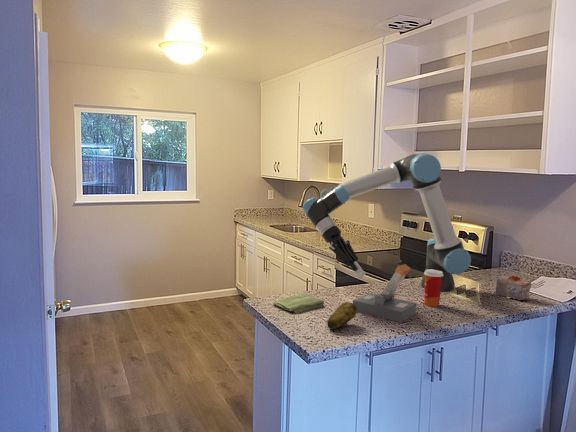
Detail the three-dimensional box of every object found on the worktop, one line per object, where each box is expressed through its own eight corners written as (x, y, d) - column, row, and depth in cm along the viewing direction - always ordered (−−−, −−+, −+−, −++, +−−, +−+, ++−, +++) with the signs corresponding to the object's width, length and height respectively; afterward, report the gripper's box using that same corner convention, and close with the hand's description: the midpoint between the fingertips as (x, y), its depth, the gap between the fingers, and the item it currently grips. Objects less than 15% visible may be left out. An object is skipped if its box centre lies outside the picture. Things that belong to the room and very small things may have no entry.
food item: (532, 300, 199) (534, 278, 198) (524, 303, 194) (526, 280, 193) (501, 292, 210) (503, 271, 209) (492, 295, 205) (494, 273, 204)
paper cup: (427, 300, 194) (429, 268, 192) (444, 305, 188) (447, 271, 187) (418, 304, 188) (420, 270, 187) (435, 308, 183) (437, 274, 181)
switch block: (352, 310, 178) (353, 291, 177) (369, 302, 189) (370, 284, 188) (400, 322, 166) (401, 302, 165) (415, 313, 177) (417, 294, 176)
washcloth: (271, 306, 181) (271, 298, 181) (304, 299, 192) (305, 291, 192) (292, 315, 171) (292, 307, 171) (326, 307, 182) (326, 299, 182)
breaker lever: (376, 299, 175) (397, 266, 169) (384, 295, 180) (404, 263, 174) (382, 304, 174) (404, 271, 168) (390, 300, 179) (411, 268, 173)
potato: (318, 325, 161) (319, 303, 160) (349, 320, 167) (350, 298, 166) (331, 333, 153) (332, 310, 152) (362, 327, 159) (364, 305, 158)
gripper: (331, 234, 197) (364, 278, 189) (314, 237, 187) (348, 285, 179) (342, 223, 193) (376, 268, 185) (325, 226, 183) (361, 274, 175)
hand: (362, 276), depth 182 cm, fingers closed
